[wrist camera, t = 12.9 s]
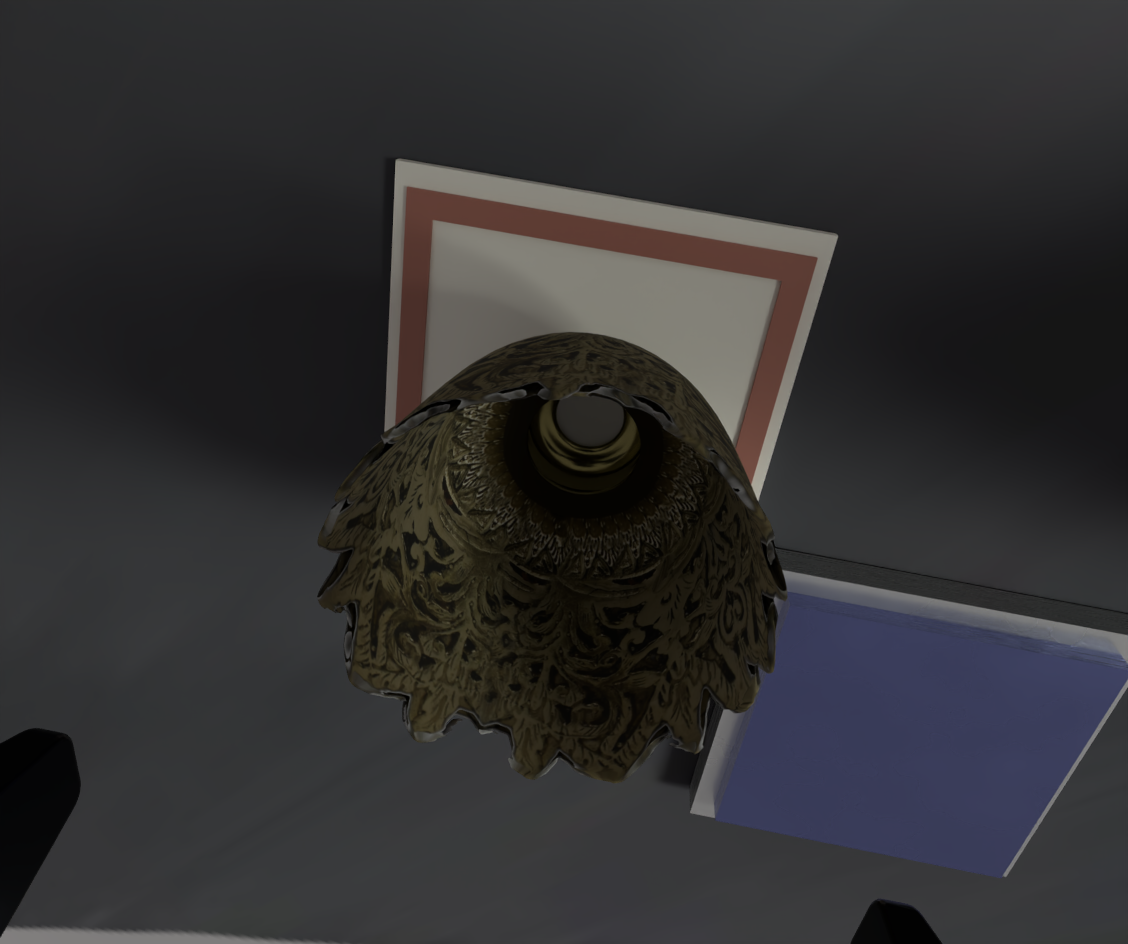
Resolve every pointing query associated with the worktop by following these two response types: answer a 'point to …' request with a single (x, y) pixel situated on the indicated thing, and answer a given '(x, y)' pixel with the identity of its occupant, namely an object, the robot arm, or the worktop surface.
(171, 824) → the worktop surface
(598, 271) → the marked card
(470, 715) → the ornate bronze cup
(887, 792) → the ink pad
